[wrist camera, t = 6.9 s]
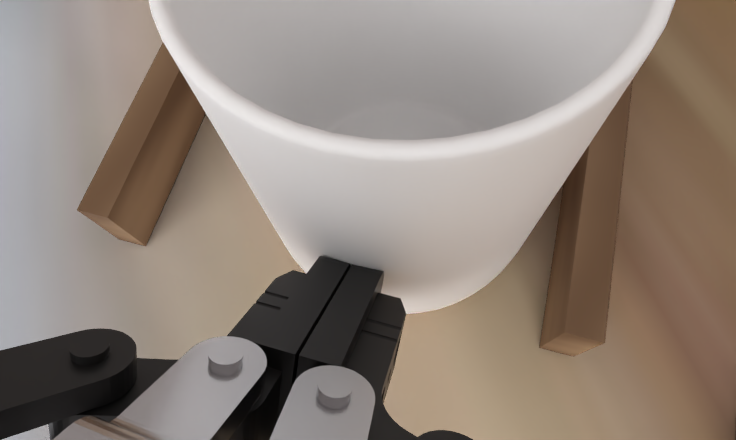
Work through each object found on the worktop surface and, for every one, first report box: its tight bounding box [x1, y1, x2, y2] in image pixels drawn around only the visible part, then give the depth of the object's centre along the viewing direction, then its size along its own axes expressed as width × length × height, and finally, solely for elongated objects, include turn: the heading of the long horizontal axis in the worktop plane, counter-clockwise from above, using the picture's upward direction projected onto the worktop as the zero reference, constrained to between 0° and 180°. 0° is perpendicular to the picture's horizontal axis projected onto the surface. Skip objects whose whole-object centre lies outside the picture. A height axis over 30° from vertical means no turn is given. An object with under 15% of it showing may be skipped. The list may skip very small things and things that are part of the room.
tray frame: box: [77, 43, 633, 356], centre depth 18 cm, size 15×15×2 cm
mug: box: [149, 0, 676, 314], centre depth 14 cm, size 12×8×10 cm
